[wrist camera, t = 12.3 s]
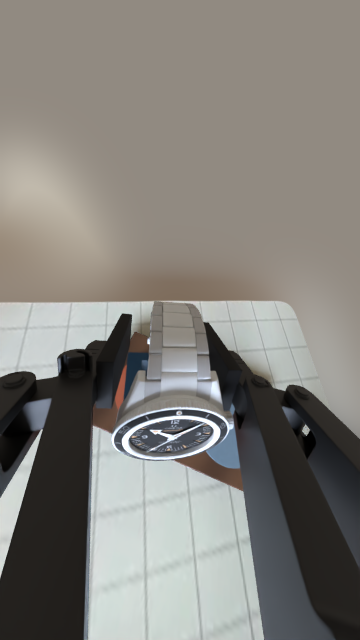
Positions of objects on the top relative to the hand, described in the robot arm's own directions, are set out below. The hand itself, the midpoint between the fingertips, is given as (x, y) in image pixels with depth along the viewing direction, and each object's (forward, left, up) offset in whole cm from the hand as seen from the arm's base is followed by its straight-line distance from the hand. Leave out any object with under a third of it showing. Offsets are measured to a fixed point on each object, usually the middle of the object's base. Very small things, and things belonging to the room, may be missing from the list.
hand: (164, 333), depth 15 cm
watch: (+2, -3, -4) cm, 5 cm away
